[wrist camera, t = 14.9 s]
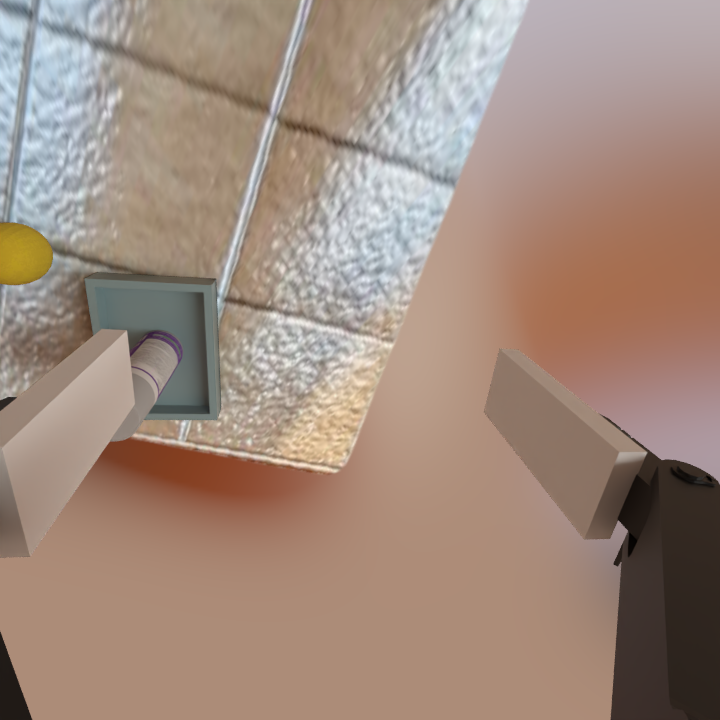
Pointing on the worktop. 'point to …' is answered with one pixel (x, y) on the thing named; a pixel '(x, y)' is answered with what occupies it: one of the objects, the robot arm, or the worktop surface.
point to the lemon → (23, 254)
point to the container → (149, 375)
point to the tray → (173, 314)
